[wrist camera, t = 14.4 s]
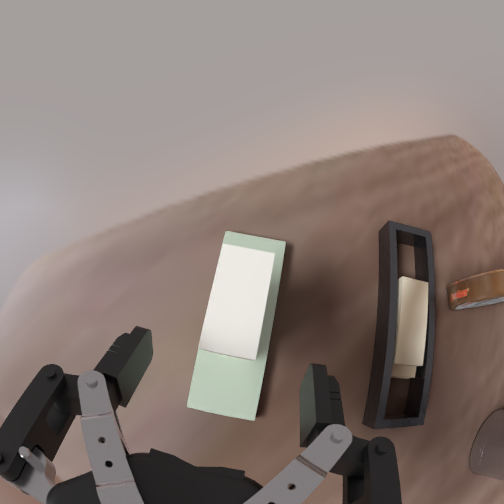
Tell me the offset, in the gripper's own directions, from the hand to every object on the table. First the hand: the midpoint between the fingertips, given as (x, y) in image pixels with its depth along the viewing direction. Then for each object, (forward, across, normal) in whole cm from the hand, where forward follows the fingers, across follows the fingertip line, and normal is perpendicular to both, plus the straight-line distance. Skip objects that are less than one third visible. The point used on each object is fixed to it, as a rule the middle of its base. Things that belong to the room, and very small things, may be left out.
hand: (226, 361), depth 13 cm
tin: (+14, -27, +1) cm, 31 cm away
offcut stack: (+11, -15, +4) cm, 19 cm away
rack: (+11, -15, +4) cm, 19 cm away
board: (+10, 0, +5) cm, 11 cm away
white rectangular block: (+9, 0, +4) cm, 10 cm away
